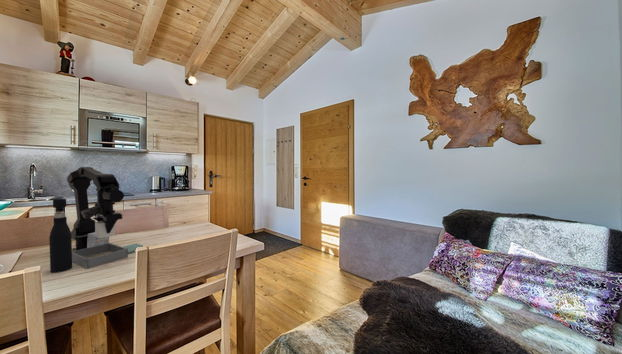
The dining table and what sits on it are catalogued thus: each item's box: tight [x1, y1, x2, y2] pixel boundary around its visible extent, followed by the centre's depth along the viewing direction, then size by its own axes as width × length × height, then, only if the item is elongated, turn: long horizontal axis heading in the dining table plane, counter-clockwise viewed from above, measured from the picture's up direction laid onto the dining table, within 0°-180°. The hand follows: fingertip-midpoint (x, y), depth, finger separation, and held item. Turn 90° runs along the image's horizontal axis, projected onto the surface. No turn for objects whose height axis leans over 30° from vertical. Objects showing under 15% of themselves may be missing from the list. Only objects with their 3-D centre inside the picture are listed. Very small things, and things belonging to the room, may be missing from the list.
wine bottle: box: [48, 198, 73, 274], centre depth 99 cm, size 6×6×30 cm
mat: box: [123, 243, 144, 255], centre depth 125 cm, size 11×9×1 cm
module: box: [95, 221, 116, 238], centre depth 113 cm, size 4×6×7 cm
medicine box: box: [87, 232, 110, 248], centre depth 125 cm, size 8×4×9 cm, turn 173°
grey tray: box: [72, 242, 129, 270], centre depth 112 cm, size 17×15×4 cm
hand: (105, 232), depth 114 cm, fingers closed on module, 4 cm apart
